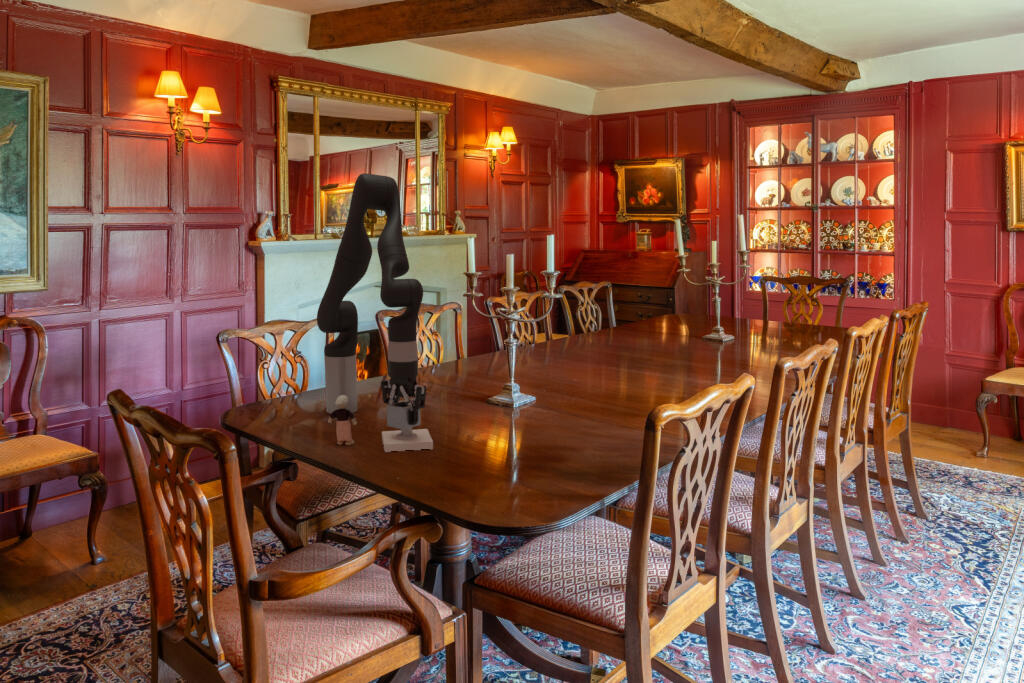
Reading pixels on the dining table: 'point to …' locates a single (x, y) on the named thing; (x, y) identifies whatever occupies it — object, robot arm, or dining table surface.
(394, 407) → the collar
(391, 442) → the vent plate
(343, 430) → the grandmother figurine
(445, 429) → the dining table surface
